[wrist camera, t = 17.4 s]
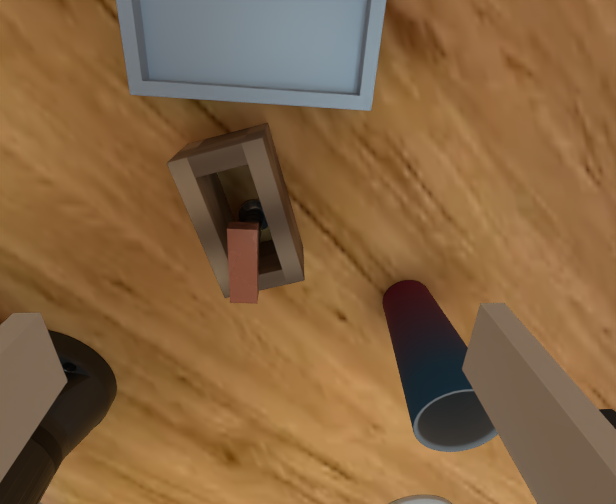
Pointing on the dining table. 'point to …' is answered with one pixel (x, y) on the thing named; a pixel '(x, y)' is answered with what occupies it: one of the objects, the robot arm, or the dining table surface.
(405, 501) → the candlestick
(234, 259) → the mallet
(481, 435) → the cup
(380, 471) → the dining table surface
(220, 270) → the brown hollow block
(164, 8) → the tray
